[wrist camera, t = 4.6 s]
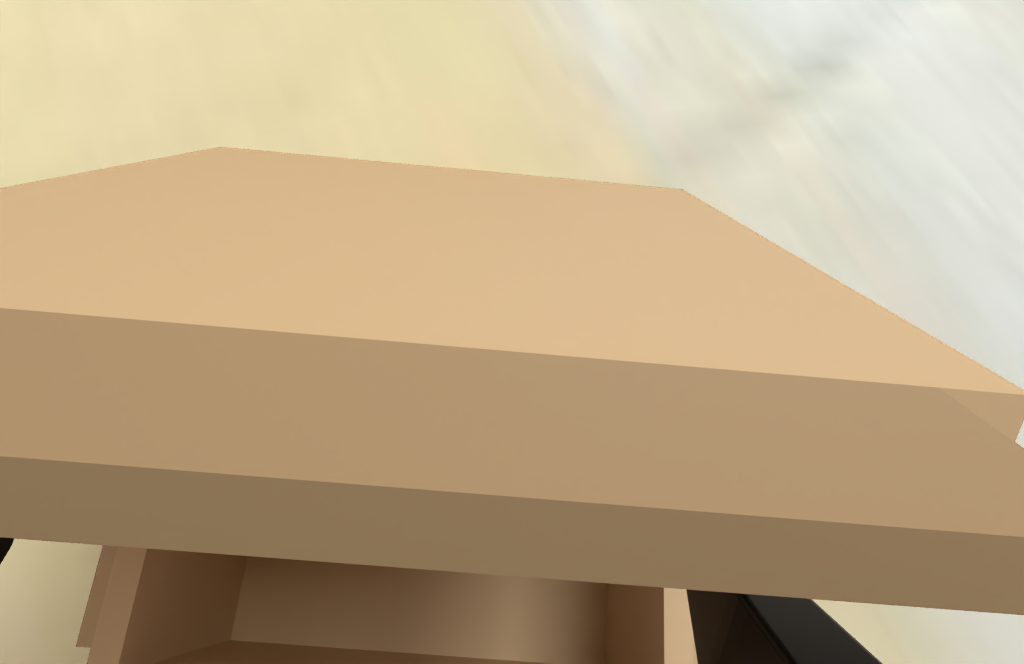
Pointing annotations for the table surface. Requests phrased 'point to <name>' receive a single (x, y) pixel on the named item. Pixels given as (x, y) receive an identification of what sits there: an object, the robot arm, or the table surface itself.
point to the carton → (367, 615)
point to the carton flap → (485, 386)
